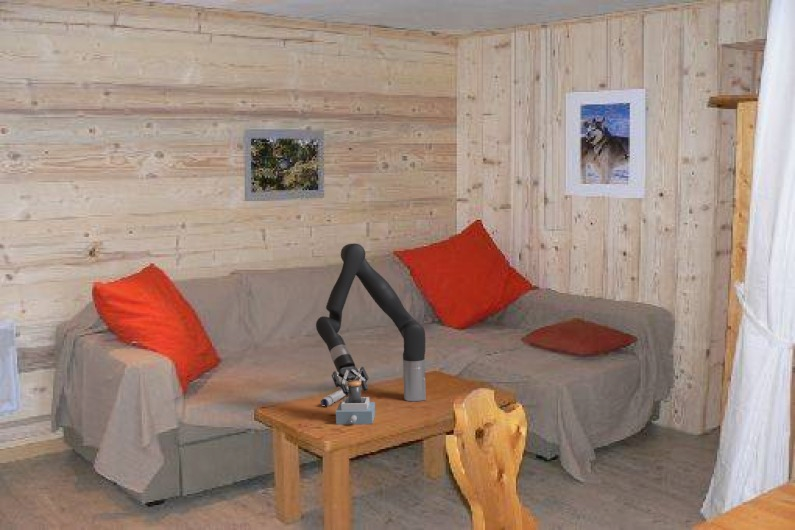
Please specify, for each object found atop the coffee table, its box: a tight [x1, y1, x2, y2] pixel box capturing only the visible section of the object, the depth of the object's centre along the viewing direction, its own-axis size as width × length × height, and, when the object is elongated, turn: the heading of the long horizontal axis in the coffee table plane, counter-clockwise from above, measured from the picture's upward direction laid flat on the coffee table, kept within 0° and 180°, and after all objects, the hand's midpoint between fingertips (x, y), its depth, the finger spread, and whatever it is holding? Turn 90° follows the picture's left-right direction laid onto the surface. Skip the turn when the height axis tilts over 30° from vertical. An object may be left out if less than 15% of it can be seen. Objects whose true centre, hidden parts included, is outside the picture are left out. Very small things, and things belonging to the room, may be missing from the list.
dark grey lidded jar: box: [346, 380, 362, 403], centre depth 351 cm, size 5×5×10 cm
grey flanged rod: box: [320, 385, 363, 407], centre depth 382 cm, size 5×7×25 cm
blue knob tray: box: [335, 396, 376, 425], centre depth 351 cm, size 14×17×8 cm
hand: (356, 392), depth 350 cm, fingers open, 8 cm apart
